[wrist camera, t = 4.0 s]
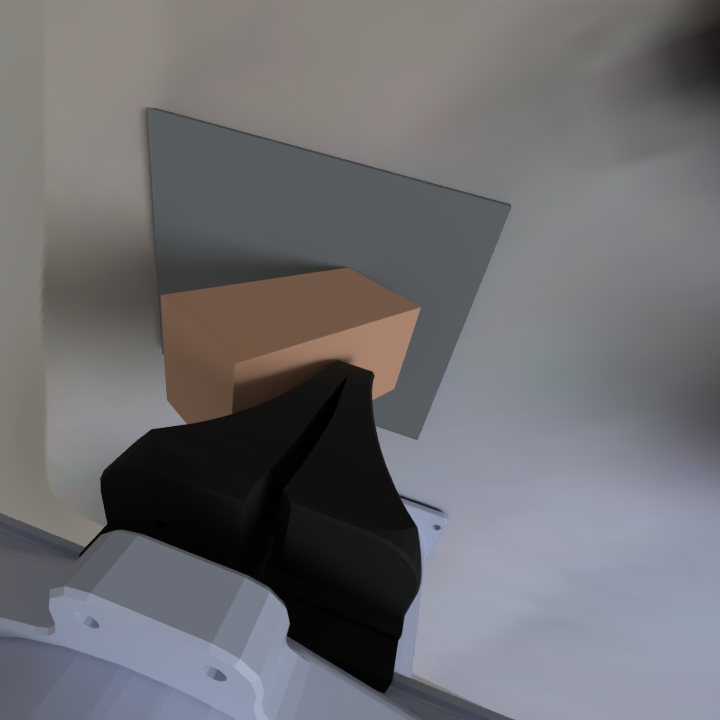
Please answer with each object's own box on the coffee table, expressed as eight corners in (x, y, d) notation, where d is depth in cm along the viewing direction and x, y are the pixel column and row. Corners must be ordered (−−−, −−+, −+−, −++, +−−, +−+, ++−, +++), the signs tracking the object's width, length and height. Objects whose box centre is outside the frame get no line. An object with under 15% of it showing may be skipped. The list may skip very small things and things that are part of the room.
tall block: (394, 388, 17) (228, 474, 12) (332, 344, 19) (166, 399, 14) (421, 307, 15) (234, 364, 10) (348, 267, 17) (160, 295, 12)
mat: (418, 432, 21) (417, 440, 21) (169, 349, 23) (162, 353, 22) (509, 204, 15) (511, 206, 14) (156, 108, 16) (146, 107, 16)
